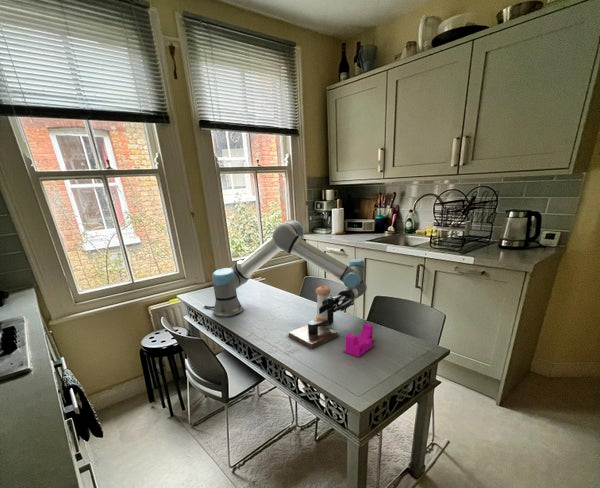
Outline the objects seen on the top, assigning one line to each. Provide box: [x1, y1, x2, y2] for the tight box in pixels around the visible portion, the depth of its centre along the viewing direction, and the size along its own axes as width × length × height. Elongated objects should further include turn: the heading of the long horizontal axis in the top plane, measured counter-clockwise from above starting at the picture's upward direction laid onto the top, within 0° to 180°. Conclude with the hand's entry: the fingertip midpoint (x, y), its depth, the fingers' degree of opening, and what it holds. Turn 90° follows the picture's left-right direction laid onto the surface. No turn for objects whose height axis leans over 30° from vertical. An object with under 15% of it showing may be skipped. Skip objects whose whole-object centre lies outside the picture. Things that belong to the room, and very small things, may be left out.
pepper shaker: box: [315, 284, 331, 326], centre depth 154 cm, size 7×7×19 cm
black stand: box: [307, 296, 334, 334], centre depth 142 cm, size 13×4×15 cm, turn 114°
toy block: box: [344, 322, 374, 357], centre depth 132 cm, size 15×6×8 cm, turn 138°
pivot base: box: [288, 324, 339, 349], centre depth 144 cm, size 16×16×2 cm
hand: (324, 311), depth 140 cm, fingers open, 4 cm apart
